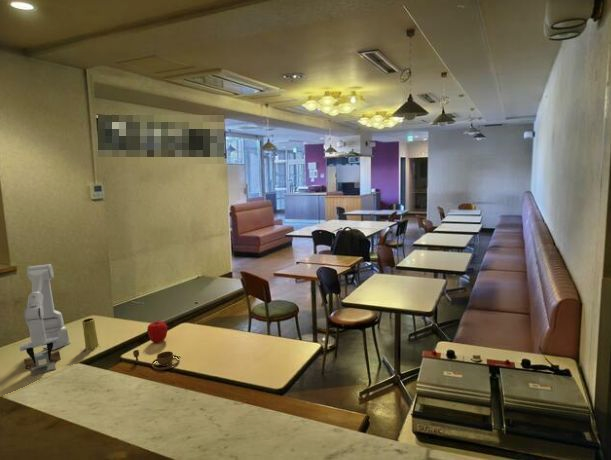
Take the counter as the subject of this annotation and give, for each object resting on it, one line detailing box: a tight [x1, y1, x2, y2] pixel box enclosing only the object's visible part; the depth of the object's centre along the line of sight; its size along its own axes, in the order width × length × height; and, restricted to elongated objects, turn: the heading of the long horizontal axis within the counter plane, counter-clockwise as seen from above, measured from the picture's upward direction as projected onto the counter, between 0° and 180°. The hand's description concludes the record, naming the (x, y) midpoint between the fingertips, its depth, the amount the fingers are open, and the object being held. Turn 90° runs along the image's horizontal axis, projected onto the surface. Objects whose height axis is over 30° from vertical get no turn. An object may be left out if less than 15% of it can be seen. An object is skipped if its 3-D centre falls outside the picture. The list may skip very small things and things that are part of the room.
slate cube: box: [34, 350, 50, 368], centre depth 189 cm, size 5×5×5 cm
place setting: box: [132, 349, 180, 371], centre depth 190 cm, size 18×20×6 cm
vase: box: [81, 317, 100, 350], centre depth 209 cm, size 6×6×14 cm
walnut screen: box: [23, 350, 61, 369], centre depth 195 cm, size 14×2×4 cm, turn 123°
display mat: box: [31, 361, 57, 377], centre depth 190 cm, size 9×9×1 cm
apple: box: [147, 320, 168, 344], centre depth 211 cm, size 10×10×11 cm
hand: (42, 361), depth 189 cm, fingers closed on slate cube, 5 cm apart
